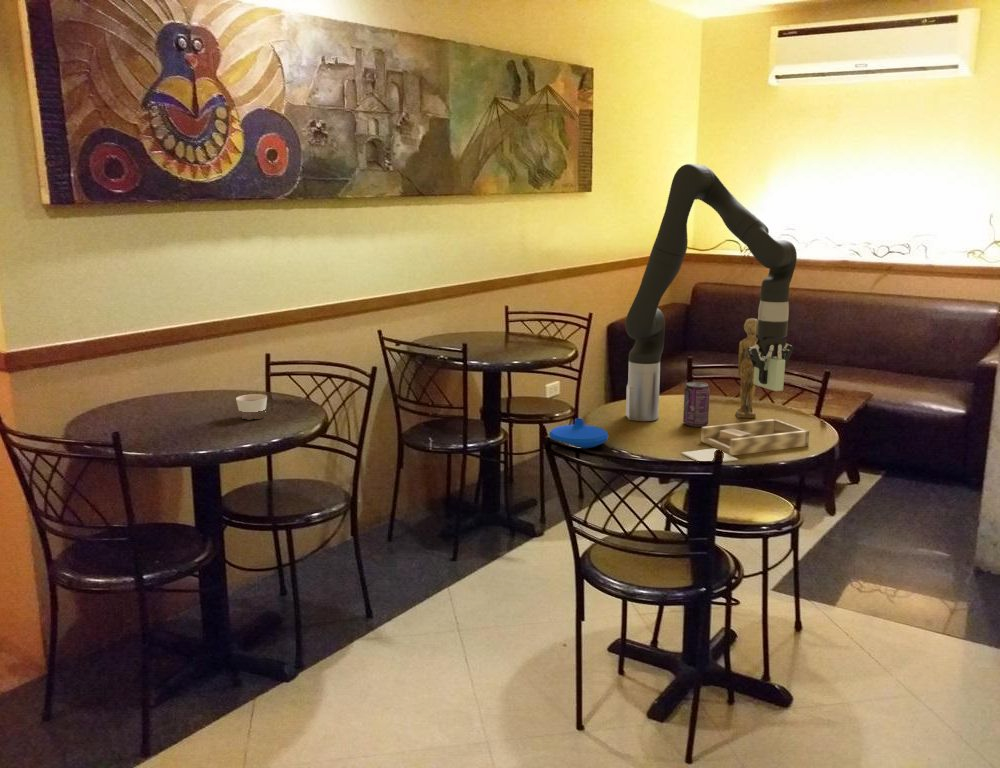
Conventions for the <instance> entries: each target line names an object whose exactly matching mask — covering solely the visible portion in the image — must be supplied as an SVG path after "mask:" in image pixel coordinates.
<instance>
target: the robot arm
mask: <svg viewBox="0 0 1000 768" xmlns="http://www.w3.org/2000/svg"><path fill="white" fill-rule="evenodd" d="M669 189H670V190H669V194H668V197H667V202H666V206H665V210H664V214H663V217H662V220H661V222H660V225H659V229H658V232H657V235H656V238H655V240H654V243H653V245H652V249H651V252H650V255H649V258H648V262H647V264H646V266H645V270H644V273H643V276H642V278H641V282H640V285H639V288H638V291H637V292H636V294H635V295H636V296H635V297H634V299H633V302H632V304H631V305H630V308H629V310H628V312H627V315H626V318H625V323H624V324H625V325H624V327H625V331H626V333H627V335H628V336H629V338H631V339H633V340H635V341H634V344H633V346H632V348H631V350H629V352H628V378H627V379H628V380H627V384H626V393H625V394H626V399H625V400H626V401H625V417H626V418H627V419H628V421H636V422H652V421H656V420H658V419H659V411H660V410H659V407H660V406H659V405H660V384H661V383H660V380H661V358H662V354H663V351H664V347H665V345H664V344H665V335H666V333H665V332H666V319H665V316H664V313H663V312H662V310H661V309H659V305H660V303H661V300H662V298H663V296H664V294H665V293H666V291H667V290H668V288H669V287H670V286H671V285H672V283H673V282H674V280H675V279H676V277H677V275H678V274H679V272H680V270H681V268H682V265H683V262H684V259H685V256H686V255H687V254H686V253H687V251H688V243H689V242H688V219H689V216H690V213H691V210H692V208H693V205H694V202H695V201H696V200H699V201H701V202H703V203H705V204H706V205H708V206H709V207H711V209H713V210H714V211H716V213H717V214H718V216H719V217H720V218H721V220H722V222H723V224H724V225H725V227H726V228H727V229H728V231H729V232H731V234H733V235H734V236H735V237H736V238H737V239H738V240H739V241H741V243H742V244H744V245H745V246H746V247H747V249H748V250H749V252H750V253H751V254H752V256H753V257H754V258H755V260H756V261H757V262H758V263H759V264H760V265H761V266H763V267H764V268H766V269H769V271H768V274H767V276H766V278H764V279H763V280H762V282H761V287H760V299H759V304H758V305H759V306H758V312H757V314H758V316H757V320H758V326H757V335H756V336H757V339H758V340H757V342H756V345H755V346H753V347H748V348H747V350H748V353H749V356H750V359H751V362H752V365H753V367H756V368H758V369H759V381H760V383H762V384H767V375H768V371H767V369H768V364H769V362H770V359H771V357H775V358H779V359H783V360H785V367H786V366H787V365H788V362H789V360H790V358H791V356H792V354H793V352H794V350H795V347H794V345H791V344H789V343H787V339H786V337H787V336H788V328H789V327H788V326H789V325H788V324H789V311H790V309H789V306H790V305H789V302H790V301H789V299H790V298H789V297H790V286H791V282H792V279H793V276H794V272H795V269H796V264H797V259H798V258H797V257H798V256H797V255H798V254H797V248H796V247H795V245H794V244H793V243H792V242H791V241H788V240H776V239H774V238H773V237H772V236H771V235H770V234H769V232H770V231H769V230H770V229H769V228H768V227H767V225H766V223H764V222H763V221H761V220H760V219H759V218H758V217H757V216H756V215H755V214H753V213H752V212H751V211H750V210H749V209H748V208H747V207H745V206H744V205H743V204H742V203H741V202H740V201H739V200H738V199H737V198H736V197H735V196H734V194H732V193H731V192H730V191H729V190H728V188H727V187H726V186H725V184H724V183H723V182H722V180H721V179H720V178H719V177H718V176H717V175H716V173H715V172H714V171H713V170H712V169H711V168H710V167H708V166H706V165H703V164H694V163H693V164H692V163H685V164H684V165H681V166H680V167H679V168H678V169H677V170H676V171H675V173H674V176H673V179H672V181H671V184H670V188H669ZM758 350H759V351H760V353H759V351H758ZM758 353H759V355H758ZM764 357H766V358H764Z"/></svg>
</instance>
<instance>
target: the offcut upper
mask: <svg viewBox="0 0 1000 768" xmlns="http://www.w3.org/2000/svg"><path fill="white" fill-rule="evenodd" d="M743 437H751V433H747V432H743V431H740V430H736V429H732V428H730V429H725V430H721V431H720V437H719V439H722V440H725V441H729V442H730V439H735V438H743Z"/></svg>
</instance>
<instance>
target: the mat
mask: <svg viewBox="0 0 1000 768" xmlns="http://www.w3.org/2000/svg"><path fill="white" fill-rule="evenodd" d="M716 450H718V449H717V448H715V447H713V448H707V449H706V448H705V449H698V450H690V451H682V452H681V455H683V456H685V457H687V458H689V459H692V460H693V461H695V460H696V461H695V462H697V461H712V460H713V458H714V452H715V451H716ZM722 452H723V451H722ZM723 453H724V458H723V462H722V463H729V462H735V461H739V458H738V457H734V455H730V454H728V453H726V452H723Z"/></svg>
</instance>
